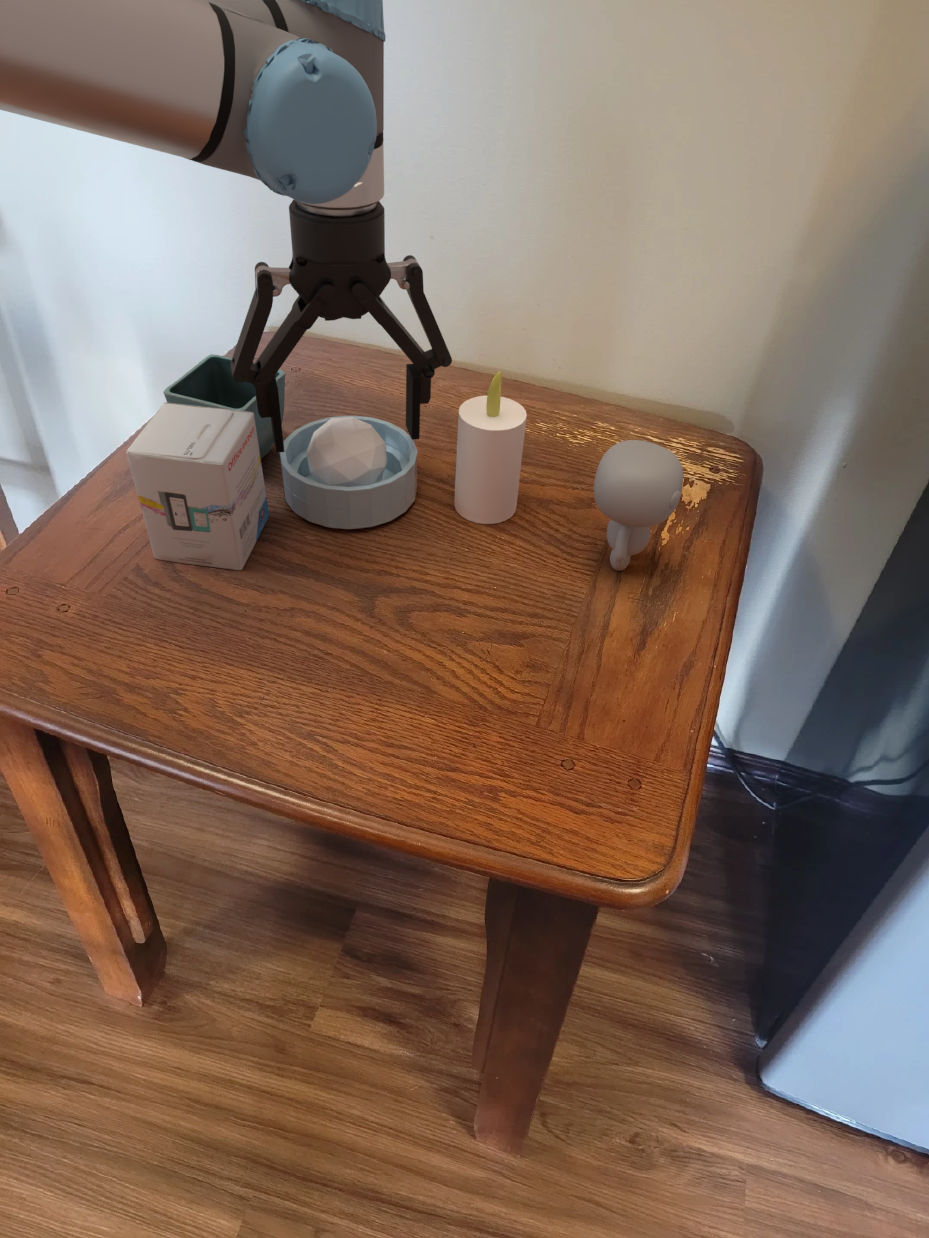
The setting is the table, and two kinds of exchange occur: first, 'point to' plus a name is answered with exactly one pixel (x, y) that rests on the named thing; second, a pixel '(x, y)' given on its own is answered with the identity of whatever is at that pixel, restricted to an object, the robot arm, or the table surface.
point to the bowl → (351, 502)
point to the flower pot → (224, 394)
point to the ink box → (200, 484)
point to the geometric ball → (346, 453)
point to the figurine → (636, 494)
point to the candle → (489, 456)
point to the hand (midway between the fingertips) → (346, 438)
